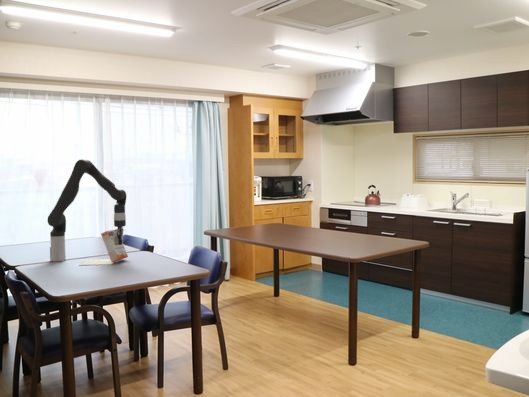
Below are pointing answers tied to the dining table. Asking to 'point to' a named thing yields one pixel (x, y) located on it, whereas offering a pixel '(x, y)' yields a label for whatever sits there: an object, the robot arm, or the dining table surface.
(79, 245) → the dining table surface
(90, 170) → the robot arm
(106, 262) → the mat
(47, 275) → the dining table surface
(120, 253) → the cracker box
